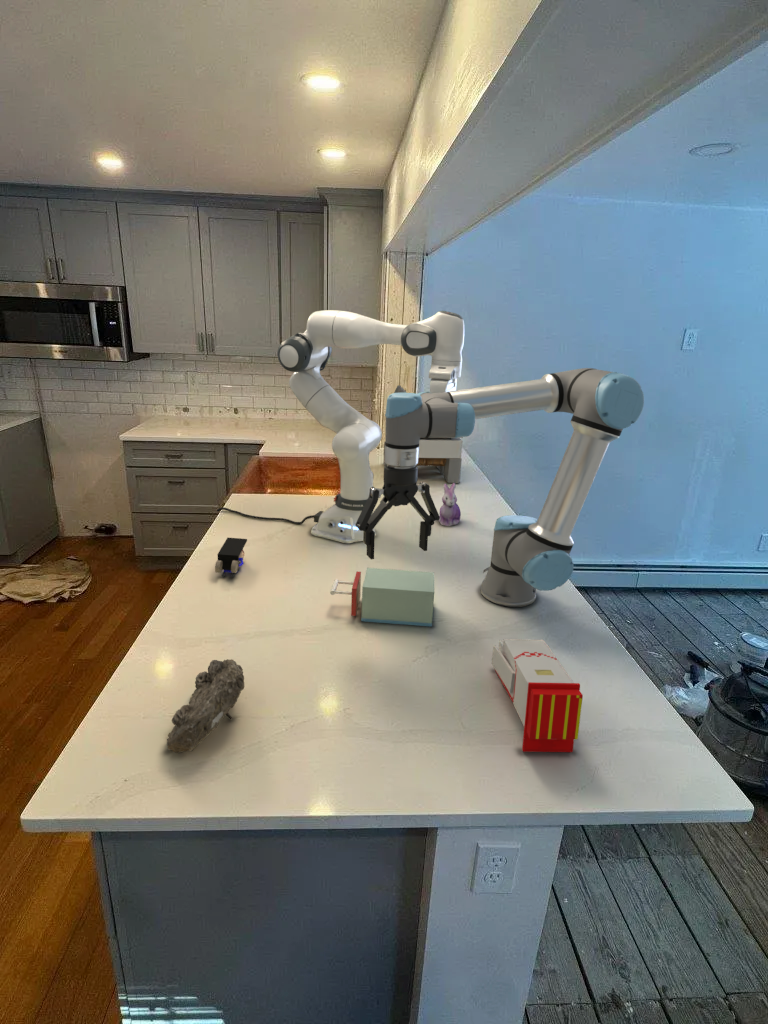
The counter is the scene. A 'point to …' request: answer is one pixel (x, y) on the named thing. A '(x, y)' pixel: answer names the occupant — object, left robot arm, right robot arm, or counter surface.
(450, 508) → the figurine
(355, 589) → the drawer
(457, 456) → the transformer
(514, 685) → the toy
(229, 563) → the figurine character
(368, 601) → the cabinet
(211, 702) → the fossil
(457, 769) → the counter surface
